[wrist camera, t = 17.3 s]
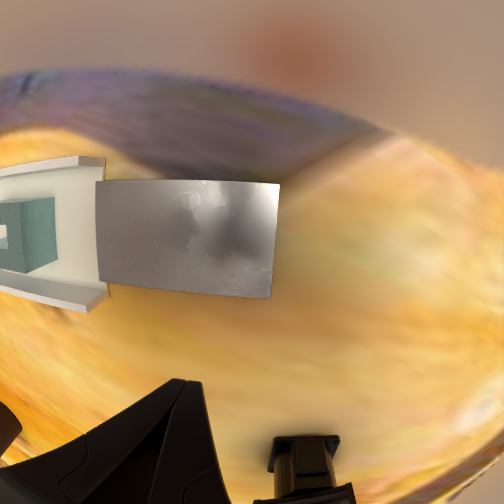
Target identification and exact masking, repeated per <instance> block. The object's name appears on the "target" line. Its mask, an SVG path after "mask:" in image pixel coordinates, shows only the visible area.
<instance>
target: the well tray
mask: <svg viewBox="0 0 504 504" xmlns="http://www.w3.org/2000/svg"><path fill="white" fill-rule="evenodd" d="M105 160H106V159H105V158H96V157H87V156H72V157H65V158H57V159H51V160H44V161H38V162H32V163H27V164H22V165H17V166H12V167H7V168H2V169H0V201H2V200H9V199H24V198H44V197H55V227H56V243H57V255H58V260H56V261H54V262H51V263H49V264H47V265H44V266H42V267H40V268H38V269H36V270H33V271H31V272H29V273H27V274H24V273H19V272H15V271H10V270H6V269H1V268H0V291H2V292H5V293H8V294H12V295H15V296H18V297H22V298H25V299H29V300H33V301H36V302H40V303H44V304H48V305H52V306H56V307H60V308H64V309H68V310H73V311H77V312H82V313H86V314H87V313H89V312H90V311H91V310H92V309H94V308H95V307H96V306H97V305H99V304H100V303H101V302H103V301H104V300H105V299H106V298H108V297H109V289H108V283H107V282H100V281H99V274H98V262H97V248H96V226H95V182H96V181H104V180H105ZM5 237H7V230H6V225H0V239H1V238H5Z"/></svg>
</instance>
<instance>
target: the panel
mask: <svg viewBox="0 0 504 504" xmlns="http://www.w3.org/2000/svg"><path fill="white" fill-rule="evenodd" d="M279 185H280V184H268V183H252V182H234V181H210V180H111V181H96V182H95V226H96V248H97V262H98V274H99V281H100V282H107V283H114V284H122V285H129V286H137V287H145V288H154V289H163V290H172V291H181V292H191V293H201V294H212V295H223V296H235V297H248V298H262V299H270V298H271V286H272V275H273V263H274V251H275V239H276V226H277V213H278V199H279Z"/></svg>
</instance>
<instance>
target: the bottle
mask: <svg viewBox="0 0 504 504" xmlns="http://www.w3.org/2000/svg"><path fill="white" fill-rule="evenodd" d="M21 431H22V428H21V425H20V423H19V421H18V420H17V419H16V417H15V416H14V415H13V414H12V412H11V411H10V410H9V409H8V408H7V407H6V406H5V405H4V404H2V403H1V402H0V457H1V456H2V455H3V453H4V452H5V451H6V450H7V448H8V447H9V446H10V445H11V443H12V442H13V441H14V440H15V438H16V437H17V436H18V435H19V434H20V432H21Z"/></svg>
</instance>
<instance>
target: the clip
mask: <svg viewBox="0 0 504 504" xmlns="http://www.w3.org/2000/svg"><path fill="white" fill-rule="evenodd" d="M0 225H6V230H7V237H5V238H1V239H0V268H1V269H6V270H10V271H15V272H19V273H24V274H27V273H29V272H31V271H33V270H36V269H38V268H40V267H42V266H44V265H47V264H49V263H51V262H54V261H56V260H58V255H57V243H56V227H55V197H44V198H24V199H9V200H2V201H0Z"/></svg>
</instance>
